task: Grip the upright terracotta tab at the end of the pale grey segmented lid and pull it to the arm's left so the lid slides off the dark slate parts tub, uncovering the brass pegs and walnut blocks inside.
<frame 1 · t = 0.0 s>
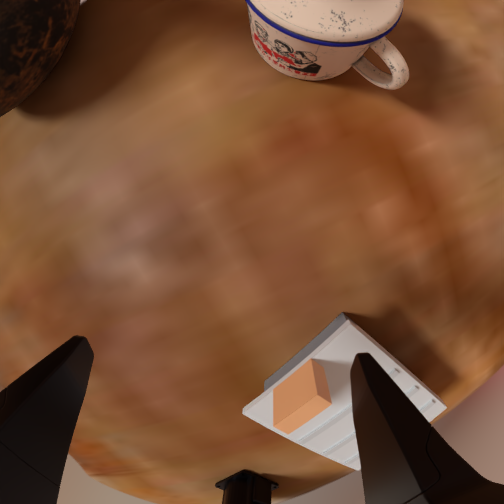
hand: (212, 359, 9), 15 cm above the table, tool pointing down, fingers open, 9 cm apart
tub: (350, 384, 28), on the table
lid: (360, 427, 21), point 6 cm above the table, slide at 0.0 cm
glass bottle: (35, 44, 20), on the table
teacup with lid: (320, 46, 20), on the table
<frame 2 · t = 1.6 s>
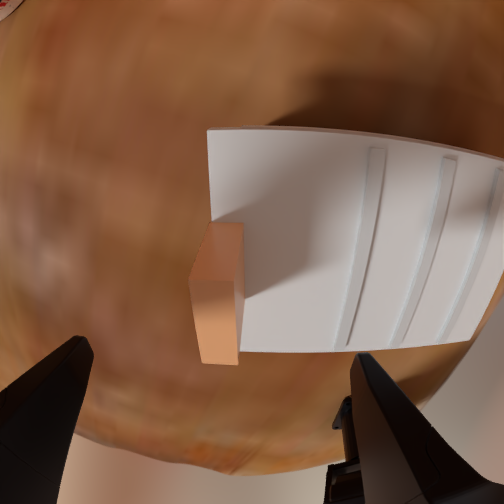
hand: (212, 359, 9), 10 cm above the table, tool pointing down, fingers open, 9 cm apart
lid: (398, 284, 12), point 6 cm above the table, slide at 0.0 cm
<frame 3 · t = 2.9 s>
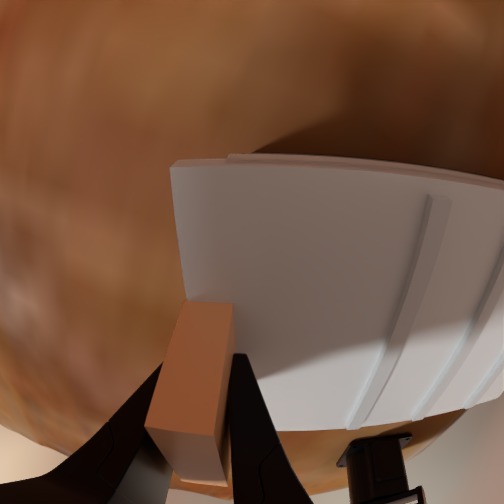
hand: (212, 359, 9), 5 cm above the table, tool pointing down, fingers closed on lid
tub: (400, 267, 13), on the table
lid: (439, 375, 8), point 6 cm above the table, slide at 0.0 cm, touching gripper
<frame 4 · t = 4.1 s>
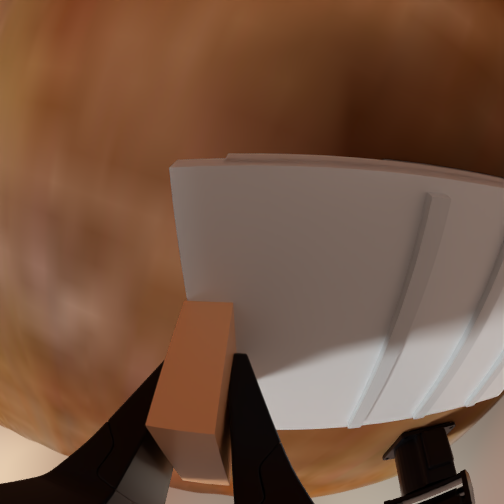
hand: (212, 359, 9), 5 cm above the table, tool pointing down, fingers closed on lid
lid: (440, 373, 8), point 6 cm above the table, slide at 5.2 cm, touching gripper
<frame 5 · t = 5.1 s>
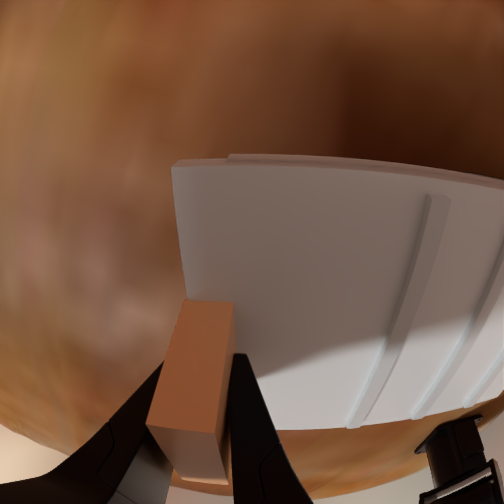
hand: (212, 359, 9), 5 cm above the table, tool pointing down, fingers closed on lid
lid: (439, 374, 8), point 6 cm above the table, slide at 9.4 cm, touching gripper
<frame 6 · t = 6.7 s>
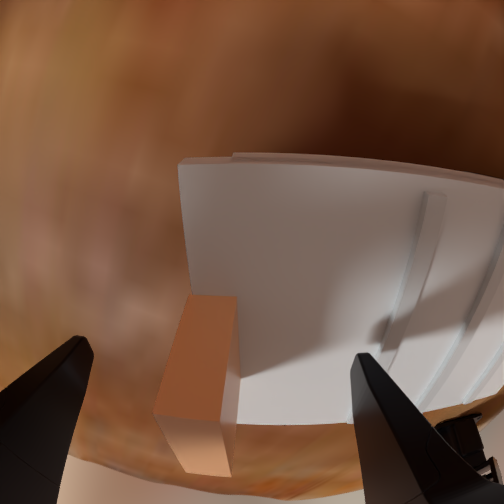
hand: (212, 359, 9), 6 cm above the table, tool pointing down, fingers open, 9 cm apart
lid: (437, 368, 8), point 6 cm above the table, slide at 9.4 cm
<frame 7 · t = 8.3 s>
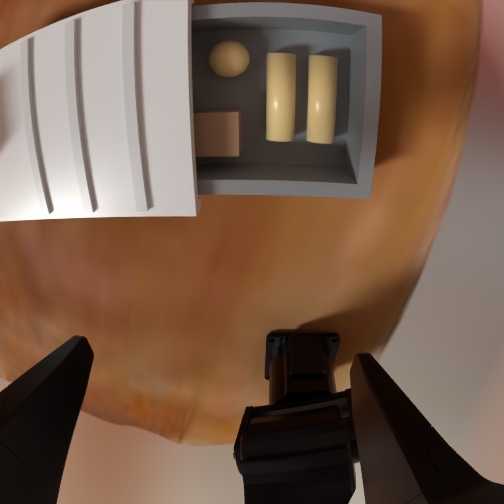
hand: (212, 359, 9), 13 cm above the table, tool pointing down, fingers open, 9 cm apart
tub: (242, 95, 17), on the table
lid: (35, 127, 12), point 6 cm above the table, slide at 9.4 cm
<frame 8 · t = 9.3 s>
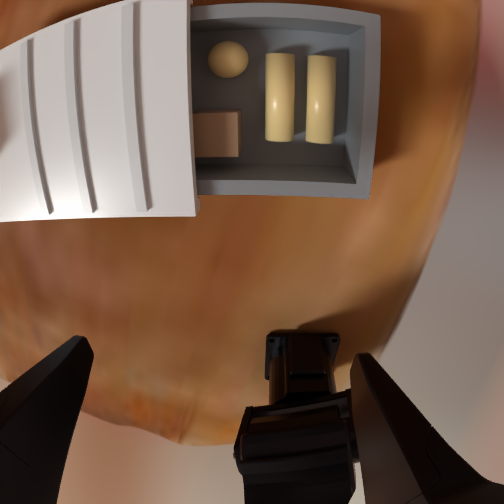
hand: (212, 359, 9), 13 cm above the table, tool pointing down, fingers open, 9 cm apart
tub: (242, 95, 17), on the table
lid: (35, 128, 12), point 6 cm above the table, slide at 9.4 cm
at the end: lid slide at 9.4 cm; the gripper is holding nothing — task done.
